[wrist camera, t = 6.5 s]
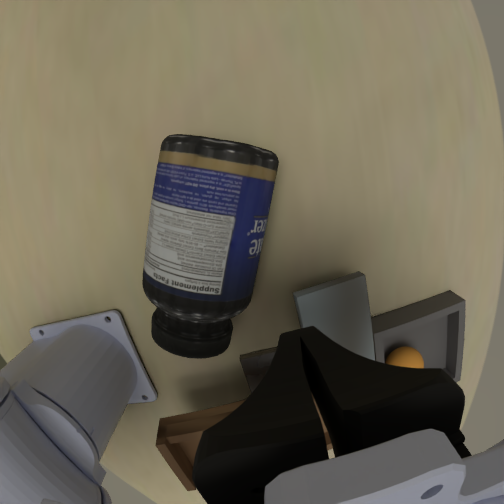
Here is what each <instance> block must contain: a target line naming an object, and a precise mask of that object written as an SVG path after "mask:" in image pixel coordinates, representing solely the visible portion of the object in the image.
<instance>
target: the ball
mask: <svg viewBox="0 0 504 504" xmlns="http://www.w3.org/2000/svg"><path fill="white" fill-rule="evenodd" d="M385 363H386V364H390V365H395V366H401V367H410V368H424V361H423V358H422V356H421V354H420V353H419V352H418V351H417V350H416V349H414V348H412V347H407V346H404V347H399V348H397V349H395V350H394V351H392V352H391V353H390V354H389V356H388V357H387V359H386V361H385Z"/></svg>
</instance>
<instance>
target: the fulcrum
mask: <svg viewBox="0 0 504 504" xmlns="http://www.w3.org/2000/svg"><path fill="white" fill-rule="evenodd" d="M276 349H277V347H275V348H271V349H266V350H262V351H258V352H253V353H249V354H244V355H240V361H241V364H242V367H243V370H244V373H245V376H246V379H247V382H248V385H249V387H250V390H251V393H252V392H253V391H254V390H255V389H256V387H257V386H258V384H259V383H260V382H261V380H262V378H263V377H264V375H265V373H266V371H267V370H268V368H269V366H270V364H271V362H272V359H273V357H274V354H275V352H276Z"/></svg>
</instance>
